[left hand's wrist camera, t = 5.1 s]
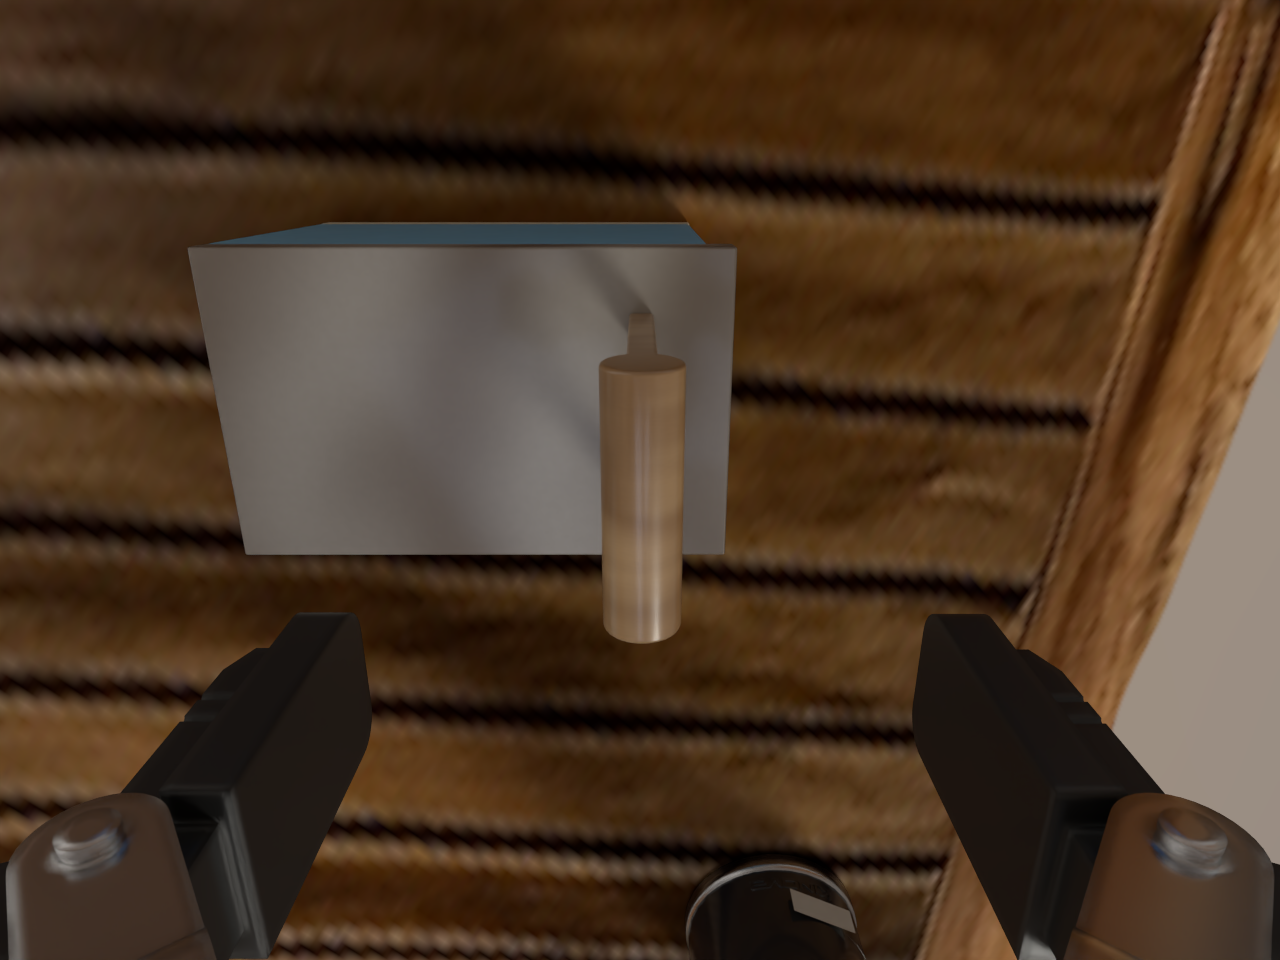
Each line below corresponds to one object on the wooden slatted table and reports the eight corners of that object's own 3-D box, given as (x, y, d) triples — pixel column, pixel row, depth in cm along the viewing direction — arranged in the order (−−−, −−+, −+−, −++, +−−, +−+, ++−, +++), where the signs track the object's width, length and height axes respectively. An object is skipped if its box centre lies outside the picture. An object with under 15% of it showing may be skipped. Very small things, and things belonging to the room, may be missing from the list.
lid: (733, 243, 23) (784, 284, 15) (721, 541, 27) (758, 708, 18) (204, 243, 23) (-34, 284, 15) (259, 541, 27) (88, 708, 18)
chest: (687, 222, 33) (707, 243, 23) (683, 444, 36) (699, 540, 27) (329, 222, 33) (205, 243, 23) (358, 444, 36) (259, 541, 27)
